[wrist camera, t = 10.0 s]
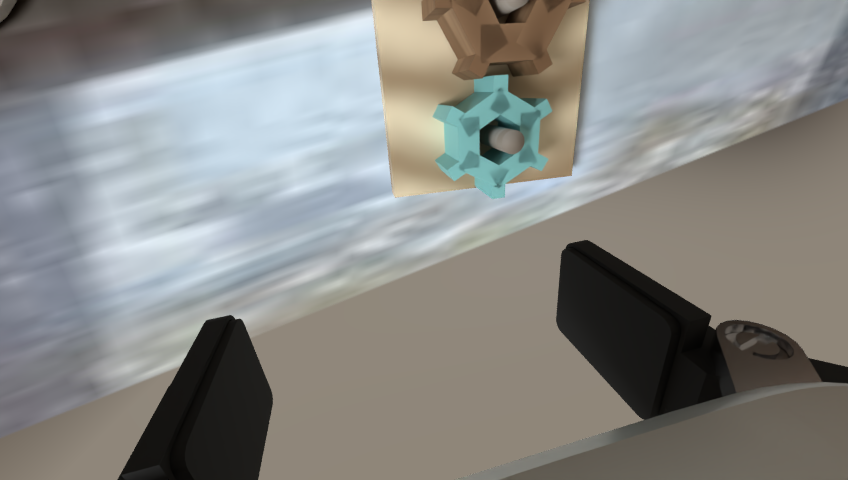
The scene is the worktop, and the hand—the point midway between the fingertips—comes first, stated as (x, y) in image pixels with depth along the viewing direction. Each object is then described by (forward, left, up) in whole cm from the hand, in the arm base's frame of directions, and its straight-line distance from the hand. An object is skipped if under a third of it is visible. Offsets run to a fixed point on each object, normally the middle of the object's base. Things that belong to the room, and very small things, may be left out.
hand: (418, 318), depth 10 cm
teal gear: (-2, +9, -19) cm, 22 cm away
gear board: (-6, +9, -21) cm, 24 cm away
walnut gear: (-11, +9, -19) cm, 24 cm away
